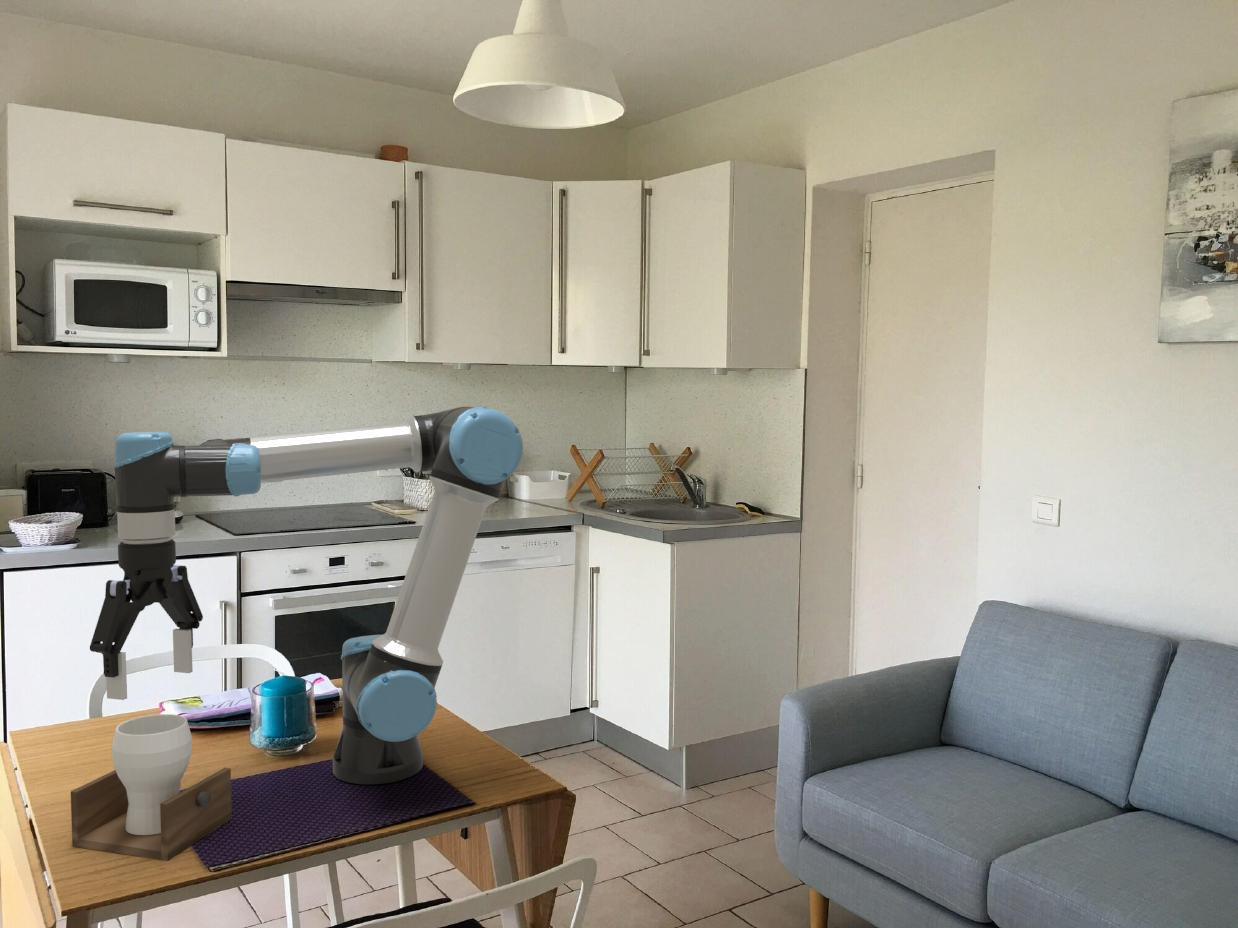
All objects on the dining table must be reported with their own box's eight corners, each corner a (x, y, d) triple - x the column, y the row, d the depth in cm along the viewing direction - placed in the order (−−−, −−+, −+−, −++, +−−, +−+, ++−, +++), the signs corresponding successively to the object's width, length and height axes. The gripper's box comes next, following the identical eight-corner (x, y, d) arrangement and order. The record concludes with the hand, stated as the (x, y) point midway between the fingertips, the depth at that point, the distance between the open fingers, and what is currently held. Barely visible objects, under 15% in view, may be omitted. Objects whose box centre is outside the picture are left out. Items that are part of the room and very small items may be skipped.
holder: (237, 820, 154) (236, 768, 153) (173, 861, 140) (172, 805, 140) (137, 806, 159) (135, 756, 158) (66, 845, 145) (64, 790, 144)
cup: (101, 826, 149) (98, 725, 148) (171, 803, 157) (169, 708, 156) (135, 847, 142) (132, 742, 141) (207, 822, 150) (205, 723, 149)
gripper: (183, 527, 159) (187, 660, 161) (56, 552, 135) (62, 708, 137) (224, 528, 157) (228, 663, 159) (103, 554, 133) (109, 713, 135)
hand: (151, 684), depth 148 cm, fingers open, 13 cm apart
